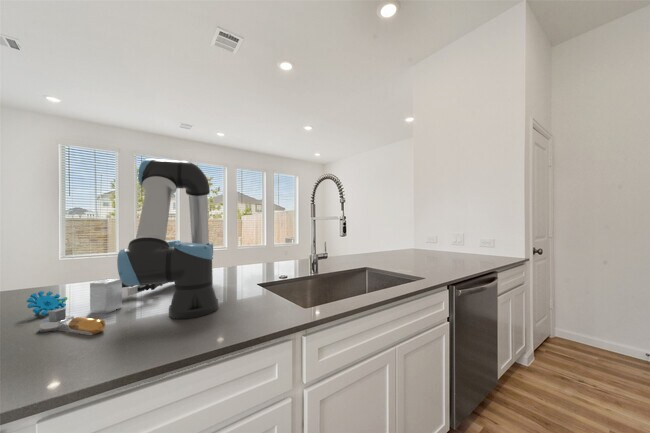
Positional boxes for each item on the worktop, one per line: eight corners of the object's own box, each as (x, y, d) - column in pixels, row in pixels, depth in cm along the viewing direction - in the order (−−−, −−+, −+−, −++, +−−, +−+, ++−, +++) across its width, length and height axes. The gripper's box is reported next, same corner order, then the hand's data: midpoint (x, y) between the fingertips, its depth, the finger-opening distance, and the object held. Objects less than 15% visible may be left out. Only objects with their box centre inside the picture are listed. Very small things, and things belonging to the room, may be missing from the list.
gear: (37, 315, 81) (23, 291, 83) (24, 328, 81) (10, 304, 83) (76, 308, 92) (62, 287, 94) (64, 320, 92) (51, 299, 94)
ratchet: (115, 328, 74) (115, 311, 74) (87, 339, 67) (87, 320, 67) (64, 321, 80) (64, 305, 80) (33, 330, 73) (33, 313, 73)
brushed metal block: (122, 307, 92) (121, 279, 92) (106, 313, 86) (106, 283, 86) (107, 307, 93) (106, 279, 93) (90, 313, 87) (90, 283, 87)
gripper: (182, 286, 112) (143, 302, 91) (130, 286, 114) (80, 301, 93) (182, 269, 112) (143, 281, 91) (130, 269, 114) (80, 280, 93)
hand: (111, 291), depth 92 cm, fingers open, 13 cm apart
